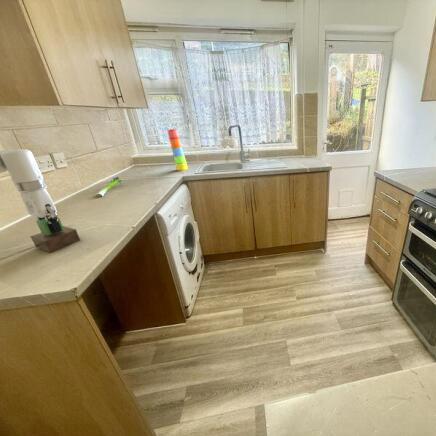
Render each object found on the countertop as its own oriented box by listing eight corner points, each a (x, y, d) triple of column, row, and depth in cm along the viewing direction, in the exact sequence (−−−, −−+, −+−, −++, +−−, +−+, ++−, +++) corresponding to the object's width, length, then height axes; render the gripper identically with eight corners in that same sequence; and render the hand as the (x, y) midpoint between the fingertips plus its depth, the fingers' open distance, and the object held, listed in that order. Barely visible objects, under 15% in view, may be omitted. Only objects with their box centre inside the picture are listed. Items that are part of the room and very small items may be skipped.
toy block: (48, 235, 91) (42, 223, 89) (41, 233, 93) (35, 221, 91) (64, 229, 95) (59, 218, 93) (57, 227, 97) (52, 216, 95)
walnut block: (50, 253, 90) (44, 241, 88) (35, 247, 94) (29, 236, 92) (80, 240, 99) (76, 229, 97) (66, 236, 103) (61, 225, 101)
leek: (94, 200, 151) (114, 183, 177) (107, 200, 153) (125, 183, 179) (91, 191, 148) (112, 175, 174) (104, 191, 150) (123, 175, 176)
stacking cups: (191, 170, 216) (181, 128, 202) (180, 172, 209) (169, 130, 195) (184, 168, 222) (175, 128, 208) (174, 171, 215) (163, 130, 201)
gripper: (5, 186, 87) (29, 231, 94) (30, 190, 80) (53, 239, 88) (32, 180, 93) (52, 223, 100) (57, 184, 87) (76, 230, 94)
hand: (52, 230), depth 94 cm, fingers closed on toy block, 5 cm apart
